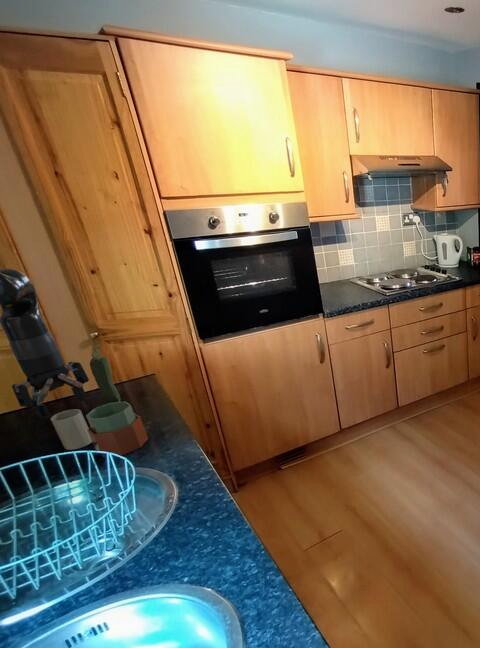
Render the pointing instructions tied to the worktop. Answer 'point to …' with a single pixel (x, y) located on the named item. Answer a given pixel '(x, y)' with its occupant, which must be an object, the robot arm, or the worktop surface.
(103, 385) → the vegetable
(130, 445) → the cup stack
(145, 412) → the worktop surface
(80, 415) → the cup
